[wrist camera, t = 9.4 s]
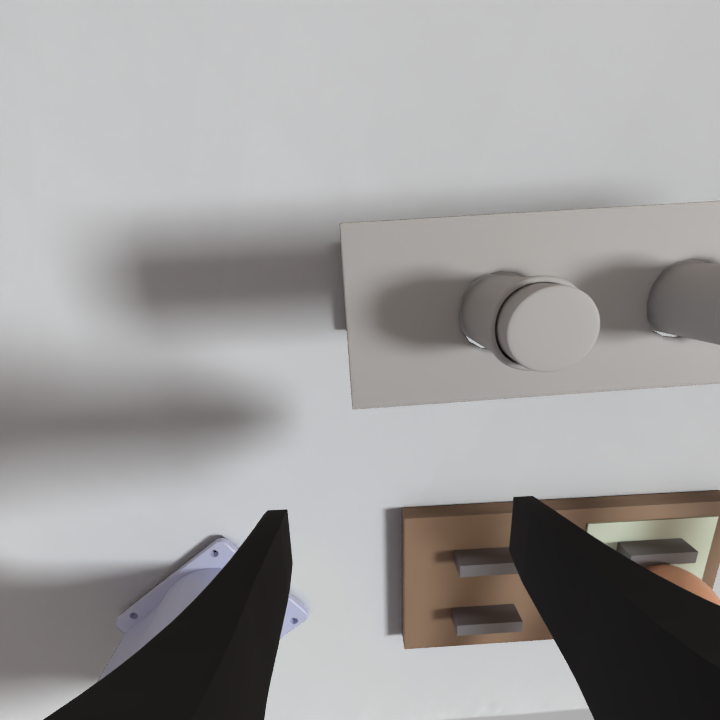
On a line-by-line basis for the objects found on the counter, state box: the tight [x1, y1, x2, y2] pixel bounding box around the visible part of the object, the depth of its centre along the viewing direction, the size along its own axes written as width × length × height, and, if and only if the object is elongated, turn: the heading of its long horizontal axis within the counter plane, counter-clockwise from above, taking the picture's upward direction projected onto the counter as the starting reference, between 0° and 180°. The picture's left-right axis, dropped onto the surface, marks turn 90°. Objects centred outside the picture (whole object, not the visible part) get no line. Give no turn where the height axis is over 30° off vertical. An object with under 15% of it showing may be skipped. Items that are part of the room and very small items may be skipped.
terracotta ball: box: [643, 564, 720, 606], centre depth 21 cm, size 4×4×4 cm
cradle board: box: [402, 490, 720, 649], centre depth 23 cm, size 20×10×2 cm, turn 92°
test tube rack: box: [340, 201, 720, 409], centre depth 13 cm, size 25×4×13 cm, turn 93°
